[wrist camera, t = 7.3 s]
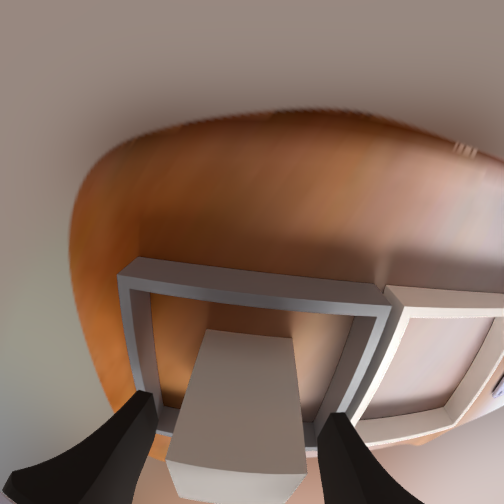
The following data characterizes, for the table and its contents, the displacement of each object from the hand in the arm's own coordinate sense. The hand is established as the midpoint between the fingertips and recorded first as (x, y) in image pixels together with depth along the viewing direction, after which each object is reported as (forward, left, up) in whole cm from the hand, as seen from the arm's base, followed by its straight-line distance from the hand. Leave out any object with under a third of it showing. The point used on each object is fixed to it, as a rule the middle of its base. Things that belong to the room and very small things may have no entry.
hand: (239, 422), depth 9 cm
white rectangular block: (0, 0, -4) cm, 4 cm away
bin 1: (0, 0, -4) cm, 4 cm away
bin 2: (-11, 0, -4) cm, 12 cm away
